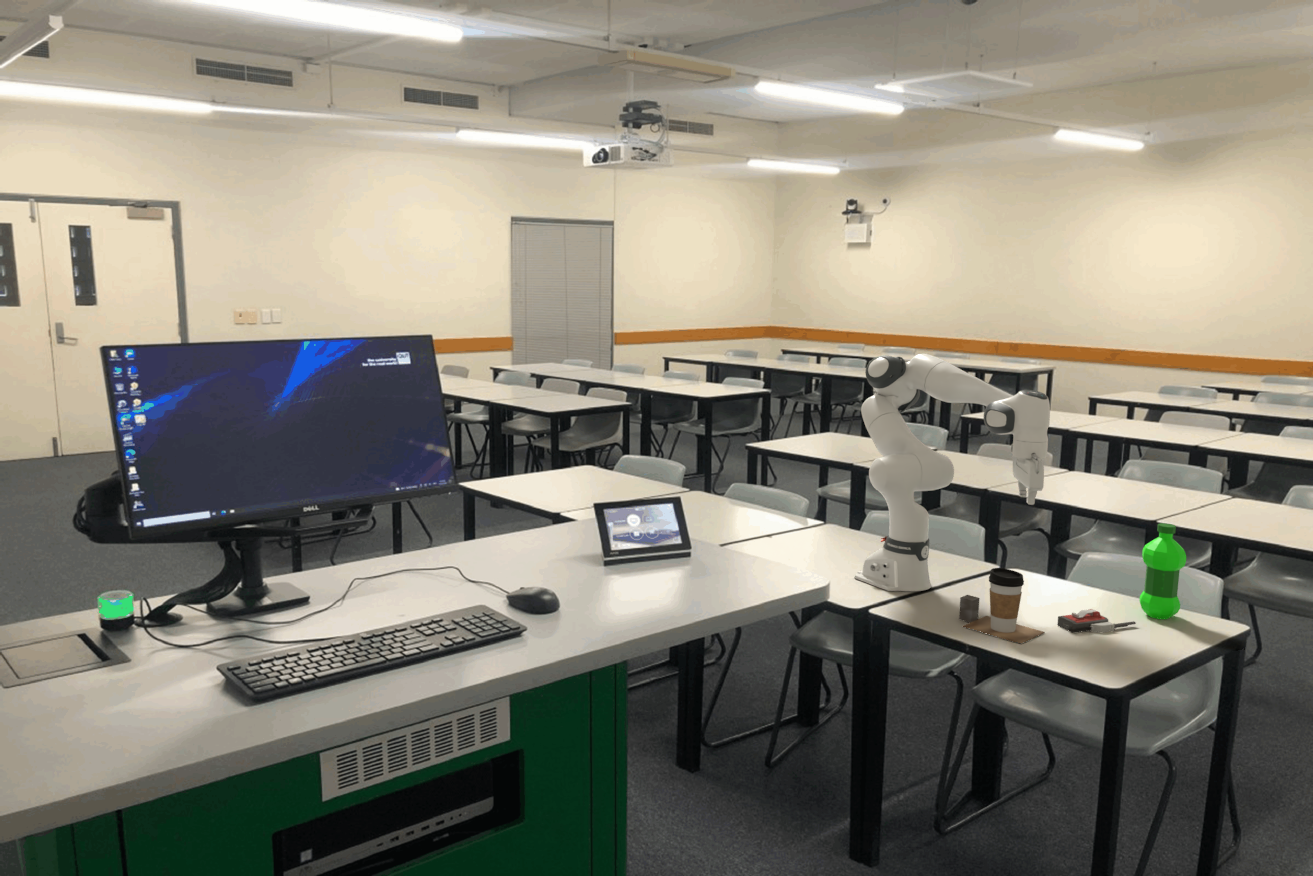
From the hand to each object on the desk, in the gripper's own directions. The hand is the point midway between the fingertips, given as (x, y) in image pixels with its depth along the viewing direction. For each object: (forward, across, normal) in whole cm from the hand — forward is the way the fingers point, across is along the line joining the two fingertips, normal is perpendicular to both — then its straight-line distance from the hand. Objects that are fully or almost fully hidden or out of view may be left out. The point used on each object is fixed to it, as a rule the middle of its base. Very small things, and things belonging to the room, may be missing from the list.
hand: (1026, 500), depth 263 cm
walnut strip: (+29, -22, +10) cm, 38 cm away
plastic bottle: (+29, -5, -35) cm, 46 cm away
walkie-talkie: (+30, -16, -15) cm, 37 cm away
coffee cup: (+29, -24, +9) cm, 38 cm away
